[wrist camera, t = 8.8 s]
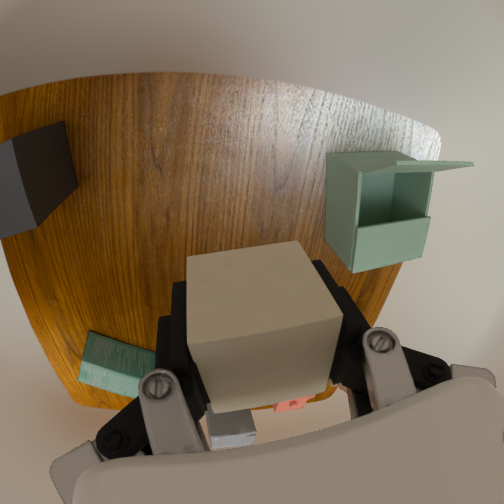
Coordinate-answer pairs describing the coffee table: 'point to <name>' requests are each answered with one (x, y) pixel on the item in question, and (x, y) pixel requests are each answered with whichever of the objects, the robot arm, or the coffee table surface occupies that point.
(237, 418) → the cosmetic box
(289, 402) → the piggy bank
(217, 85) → the coffee table surface
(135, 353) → the box
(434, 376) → the robot arm
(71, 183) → the block
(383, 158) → the container
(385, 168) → the lid
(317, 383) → the block
